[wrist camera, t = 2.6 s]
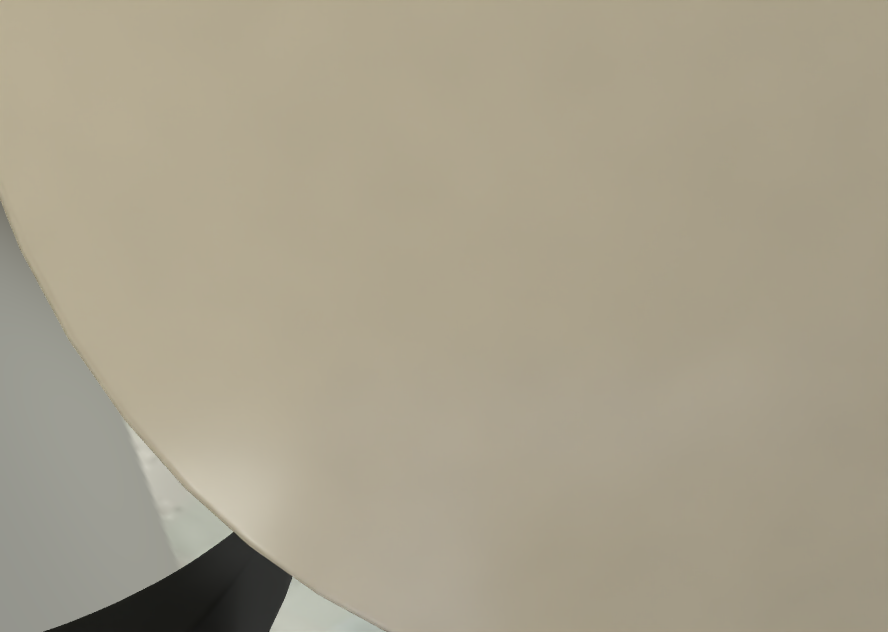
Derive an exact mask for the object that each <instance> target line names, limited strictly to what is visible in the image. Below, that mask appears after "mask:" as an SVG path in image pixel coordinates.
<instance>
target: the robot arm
mask: <svg viewBox="0 0 888 632" xmlns="http://www.w3.org/2000/svg"><path fill="white" fill-rule="evenodd" d="M291 579H292V576H291V575H290V574H288V573H287V572H286V571H284V570H283V569H281V568H280V567H279V566H277V565H276V564H274V563H273V562H271V561H270V560H269V559H267V558H266V557H264V556H263V555H262V554H260V553H259V552H257V551H256V550H254V549H253V548H252V547H250V546H249V545H248V544H247V543H246V542H245V541H243V540H242V539H241V538H240V537H239V536H238V535H237V534H236V533H235V532H233V533H232V534H230V535H229V536H228V537H227V538H225V539H224V540H223V541H221V542H220V543H218V544H217V545H216V546H214V547H213V548H211V549H210V550H208V551H207V552H206V553H204V554H203V555H201V556H200V557H198V558H197V559H195V560H194V561H192V562H191V563H189V564H188V565H186V566H184V567H183V568H181V569H179V570H178V571H176V572H174V573H173V574H171V575H169V576H167V577H166V578H164V579H162V580H160V581H159V582H157V583H155V584H153V585H151V586H149V587H147V588H145V589H143V590H141V591H139V592H137V593H135V594H133V595H131V596H129V597H127V598H125V599H123V600H121V601H119V602H117V603H115V604H112V605H110V606H108V607H106V608H103V609H101V610H99V611H96V612H94V613H92V614H89V615H87V616H84V617H82V618H80V619H77V620H75V621H72V622H69V623H67V624H64V625H61V626H59V627H56V628H53V629H50V630H47V631H44V632H269V631H270V628H271V626H272V624H273V622H274V620H275V618H276V616H277V614H278V611H279V609H280V607H281V605H282V603H283V601H284V599H285V596H286V594H287V591H288V588H289V585H290V582H291Z"/></svg>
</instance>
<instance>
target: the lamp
mask: <svg viewBox="0 0 888 632" xmlns="http://www.w3.org/2000/svg"><path fill="white" fill-rule="evenodd" d="M0 200H1V202H2V205H3V208H4V210H5V212H6V215H7V218H8V220H9V223H10V225H11V228H12V230H13V233H14V235H15V238H16V240H17V243H18V245H19V248H20V250H21V252H22V254H23V255H24V257H25V259H26V261H27V263H28V265H29V267H30V268H31V270H32V272H33V274H34V276H35V278H36V280H37V282H38V283H39V285H40V287H41V289H42V291H43V293H44V295H45V296H46V298H47V300H48V302H49V304H50V306H51V307H52V309H53V311H54V313H55V315H56V317H57V319H58V321H59V322H60V324H61V326H62V328H63V330H64V332H65V334H66V335H67V337H68V339H69V341H70V342H71V344H72V345H73V346H74V348H75V349H76V351H77V352H78V354H79V355H80V357H81V358H82V359H83V361H84V362H85V364H86V365H87V367H88V368H89V370H90V371H91V372H92V374H93V375H94V377H95V378H96V380H97V381H98V382H99V384H100V385H101V387H102V388H103V390H104V391H105V393H106V394H107V395H108V397H109V398H110V400H111V401H112V402H113V404H114V405H115V407H116V408H117V410H118V411H119V413H120V414H121V416H122V417H123V418H124V420H125V421H126V422H127V423H128V424H129V425H130V426H131V428H132V429H133V430H134V431H135V432H136V433H137V434H138V436H139V437H140V438H141V439H142V440H143V441H144V442H145V443H146V445H147V446H148V447H149V448H150V449H151V450H152V451H153V453H154V454H155V455H156V456H157V457H158V458H159V459H160V460H161V462H162V463H163V464H164V465H165V466H166V467H167V468H168V469H169V471H170V472H171V473H172V474H173V475H174V476H175V477H176V479H177V480H178V481H179V482H180V483H181V484H182V485H183V486H184V488H185V489H187V490H188V491H189V492H190V493H191V494H192V495H193V496H194V497H195V498H197V499H198V500H199V501H200V502H201V503H202V504H203V505H204V506H206V507H207V508H208V509H209V510H210V511H211V512H212V513H213V514H214V515H216V516H217V517H218V518H219V519H220V520H221V521H222V522H223V523H224V524H226V525H227V526H228V527H229V528H230V529H231V530H232V531H233V532H235V533H236V534H237V535H238V536H239V537H240V538H241V539H242V540H243V541H245V542H246V543H247V544H248V545H249V546H250V547H252V548H253V549H254V550H256V551H257V552H259V553H260V554H262V555H263V556H264V557H266V558H267V559H269V560H270V561H271V562H273V563H274V564H276V565H277V566H279V567H280V568H281V569H283V570H284V571H286V572H287V573H288V574H290V575H291V576H293V577H294V578H296V579H297V580H298V581H300V582H301V583H303V584H304V585H305V586H307V587H308V588H310V589H311V590H313V591H314V592H315V593H317V594H318V595H320V596H322V597H324V598H325V599H327V600H329V601H331V602H333V603H335V604H336V605H338V606H340V607H342V608H344V609H346V610H347V611H349V612H351V613H353V614H355V615H357V616H358V617H360V618H362V619H364V620H366V621H368V622H369V623H371V624H373V625H375V626H377V627H379V628H380V629H382V630H384V631H386V632H888V0H0Z"/></svg>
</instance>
